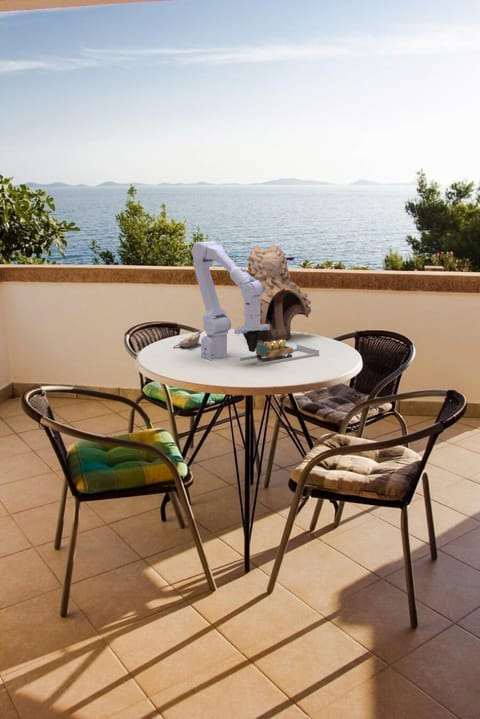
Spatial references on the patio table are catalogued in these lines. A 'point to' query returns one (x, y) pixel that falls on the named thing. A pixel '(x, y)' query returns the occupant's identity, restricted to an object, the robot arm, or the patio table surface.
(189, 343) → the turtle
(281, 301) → the bust
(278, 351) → the cart
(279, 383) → the patio table surface
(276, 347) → the part
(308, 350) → the track
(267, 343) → the part
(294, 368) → the patio table surface
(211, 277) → the robot arm
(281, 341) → the part
